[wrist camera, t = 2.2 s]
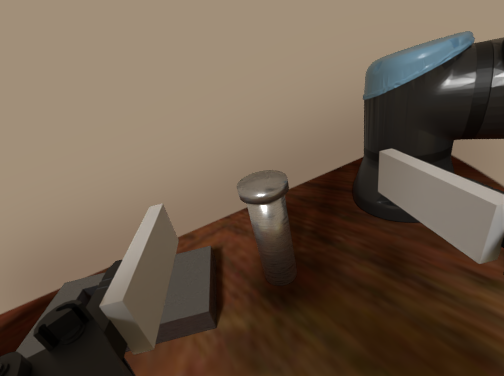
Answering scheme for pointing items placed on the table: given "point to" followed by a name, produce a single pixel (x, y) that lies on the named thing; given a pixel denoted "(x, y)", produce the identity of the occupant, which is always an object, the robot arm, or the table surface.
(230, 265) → the table surface
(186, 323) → the jig
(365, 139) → the robot arm
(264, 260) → the silver metal peg
